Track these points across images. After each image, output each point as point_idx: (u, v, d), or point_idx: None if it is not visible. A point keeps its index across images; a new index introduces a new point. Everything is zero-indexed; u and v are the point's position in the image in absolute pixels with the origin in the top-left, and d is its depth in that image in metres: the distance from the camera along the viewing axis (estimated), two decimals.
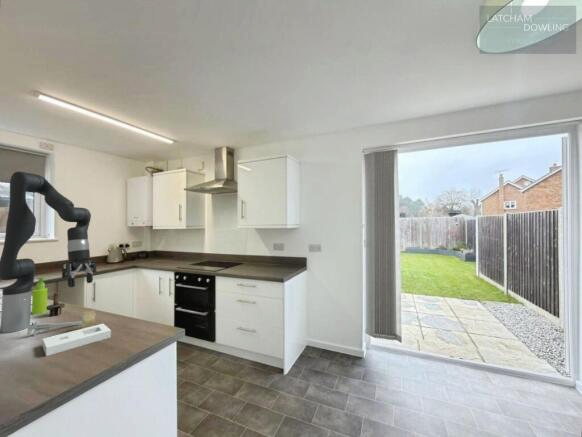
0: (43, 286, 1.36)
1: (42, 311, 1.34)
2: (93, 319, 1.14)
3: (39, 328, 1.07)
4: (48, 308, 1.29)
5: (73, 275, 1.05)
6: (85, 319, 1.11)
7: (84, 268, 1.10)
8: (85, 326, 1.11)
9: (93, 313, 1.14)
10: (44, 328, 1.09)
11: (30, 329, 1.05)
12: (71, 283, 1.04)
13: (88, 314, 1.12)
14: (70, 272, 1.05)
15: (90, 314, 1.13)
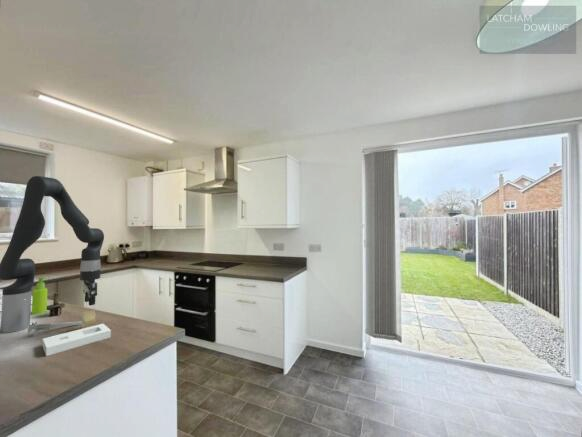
0: (43, 286, 1.36)
1: (42, 311, 1.34)
2: (93, 319, 1.14)
3: (39, 328, 1.07)
4: (48, 308, 1.29)
5: None
6: (85, 319, 1.11)
7: None
8: (85, 326, 1.11)
9: (93, 313, 1.14)
10: (44, 328, 1.09)
11: (30, 329, 1.05)
12: (94, 301, 1.11)
13: (88, 314, 1.12)
14: None
15: (90, 314, 1.13)
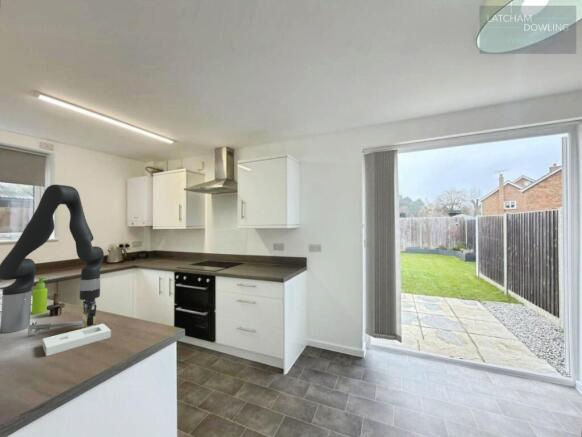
0: (43, 286, 1.36)
1: (42, 311, 1.34)
2: (93, 319, 1.14)
3: (39, 328, 1.07)
4: (48, 308, 1.29)
5: None
6: (85, 319, 1.11)
7: None
8: (85, 326, 1.11)
9: None
10: (44, 328, 1.09)
11: (30, 329, 1.05)
12: (92, 321, 1.12)
13: None
14: None
15: (90, 314, 1.13)
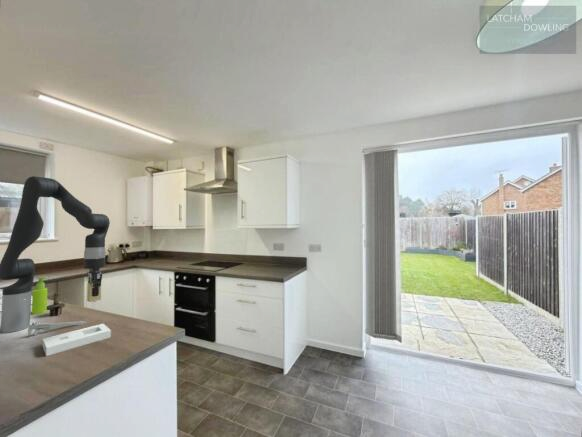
0: (43, 286, 1.36)
1: (42, 311, 1.34)
2: (99, 290, 1.07)
3: (39, 328, 1.07)
4: (48, 308, 1.29)
5: None
6: (90, 289, 1.05)
7: None
8: (90, 296, 1.05)
9: None
10: (44, 328, 1.09)
11: (30, 329, 1.05)
12: (97, 292, 1.06)
13: None
14: None
15: None
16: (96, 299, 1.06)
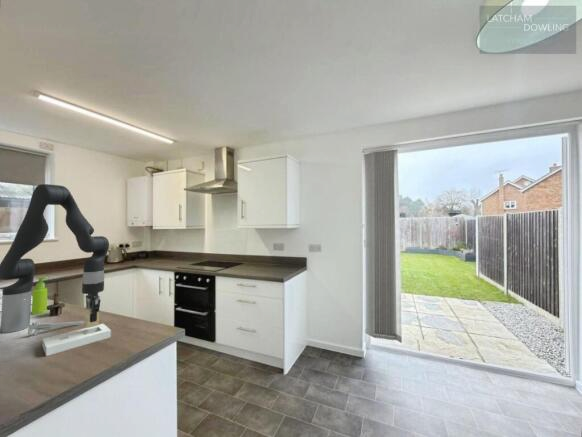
0: (43, 286, 1.36)
1: (42, 311, 1.34)
2: (97, 315, 1.04)
3: (39, 328, 1.08)
4: (48, 308, 1.29)
5: None
6: (88, 315, 1.02)
7: None
8: (88, 322, 1.02)
9: None
10: (44, 328, 1.09)
11: (30, 329, 1.05)
12: (95, 317, 1.03)
13: None
14: None
15: None
16: (94, 325, 1.04)
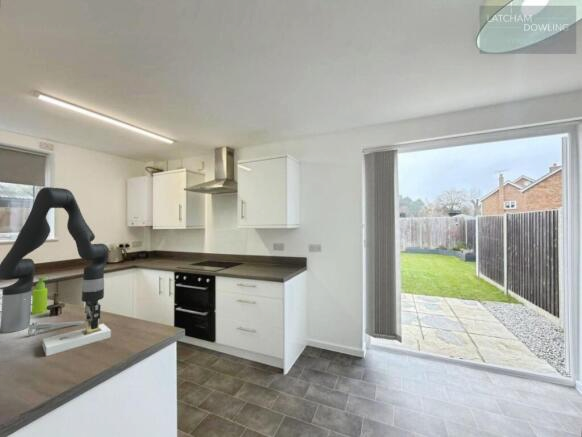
0: (43, 286, 1.36)
1: (42, 311, 1.34)
2: None
3: (40, 328, 1.08)
4: (48, 308, 1.29)
5: None
6: (88, 327, 1.02)
7: None
8: None
9: None
10: (45, 328, 1.09)
11: (31, 329, 1.05)
12: (96, 324, 1.02)
13: None
14: None
15: None
16: None
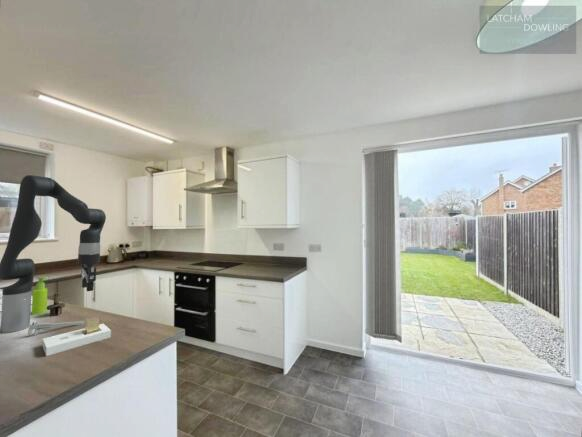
0: (43, 286, 1.36)
1: (42, 311, 1.34)
2: (96, 327, 1.04)
3: (40, 328, 1.08)
4: (48, 308, 1.29)
5: None
6: (88, 327, 1.02)
7: None
8: None
9: (96, 320, 1.04)
10: (45, 328, 1.09)
11: (31, 329, 1.05)
12: (92, 287, 1.03)
13: (91, 322, 1.03)
14: None
15: (94, 322, 1.04)
16: None
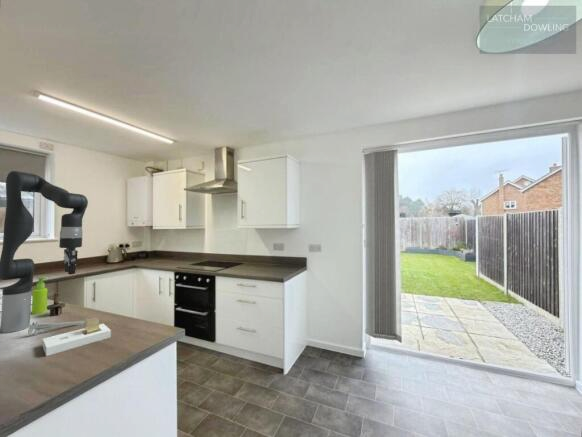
0: (43, 286, 1.36)
1: (42, 311, 1.34)
2: (96, 327, 1.04)
3: (40, 328, 1.08)
4: (48, 308, 1.29)
5: None
6: (88, 327, 1.02)
7: None
8: None
9: (96, 320, 1.04)
10: (45, 328, 1.09)
11: (31, 329, 1.05)
12: (74, 270, 1.04)
13: (91, 322, 1.03)
14: (70, 259, 1.04)
15: (94, 322, 1.04)
16: None
